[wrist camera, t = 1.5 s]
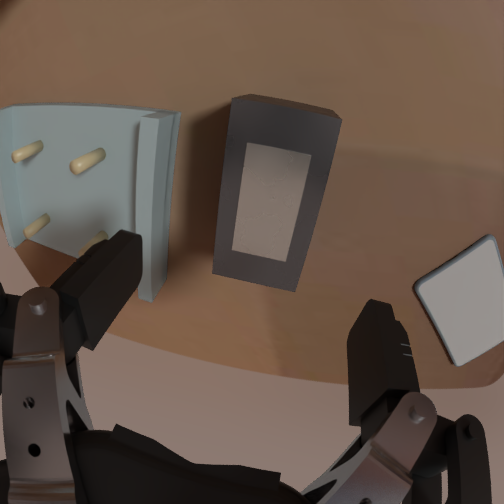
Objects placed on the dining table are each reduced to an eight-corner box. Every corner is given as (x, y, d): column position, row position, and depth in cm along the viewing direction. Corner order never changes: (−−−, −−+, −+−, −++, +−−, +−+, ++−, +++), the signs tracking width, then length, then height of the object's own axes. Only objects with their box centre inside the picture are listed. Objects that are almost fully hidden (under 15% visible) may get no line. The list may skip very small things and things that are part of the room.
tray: (14, 104, 18) (-19, 115, 14) (181, 111, 17) (150, 121, 14) (27, 230, 26) (2, 250, 22) (166, 278, 25) (146, 311, 22)
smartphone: (494, 232, 17) (516, 333, 21) (488, 226, 18) (513, 327, 22) (412, 287, 21) (456, 369, 25) (409, 279, 22) (453, 363, 26)
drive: (251, 93, 16) (231, 98, 12) (332, 110, 16) (342, 119, 12) (230, 238, 22) (211, 280, 18) (296, 253, 22) (292, 299, 18)
